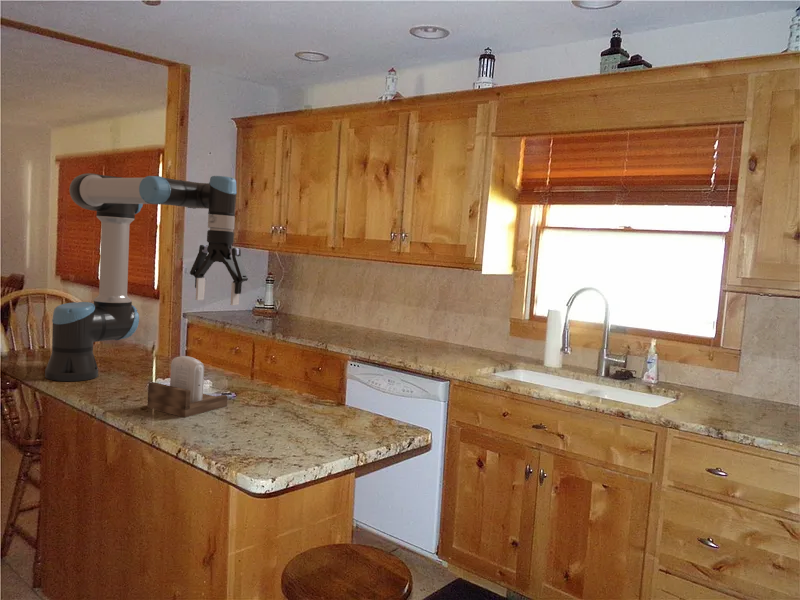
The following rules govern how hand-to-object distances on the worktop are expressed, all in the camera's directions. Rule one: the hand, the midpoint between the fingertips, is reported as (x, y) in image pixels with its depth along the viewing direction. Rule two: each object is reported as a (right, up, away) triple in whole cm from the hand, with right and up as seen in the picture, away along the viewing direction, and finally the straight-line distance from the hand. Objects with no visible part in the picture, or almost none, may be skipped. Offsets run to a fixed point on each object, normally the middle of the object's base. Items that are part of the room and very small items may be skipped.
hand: (216, 302), depth 191 cm
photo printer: (-6, -28, -10) cm, 30 cm away
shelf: (-5, -29, -9) cm, 31 cm away
